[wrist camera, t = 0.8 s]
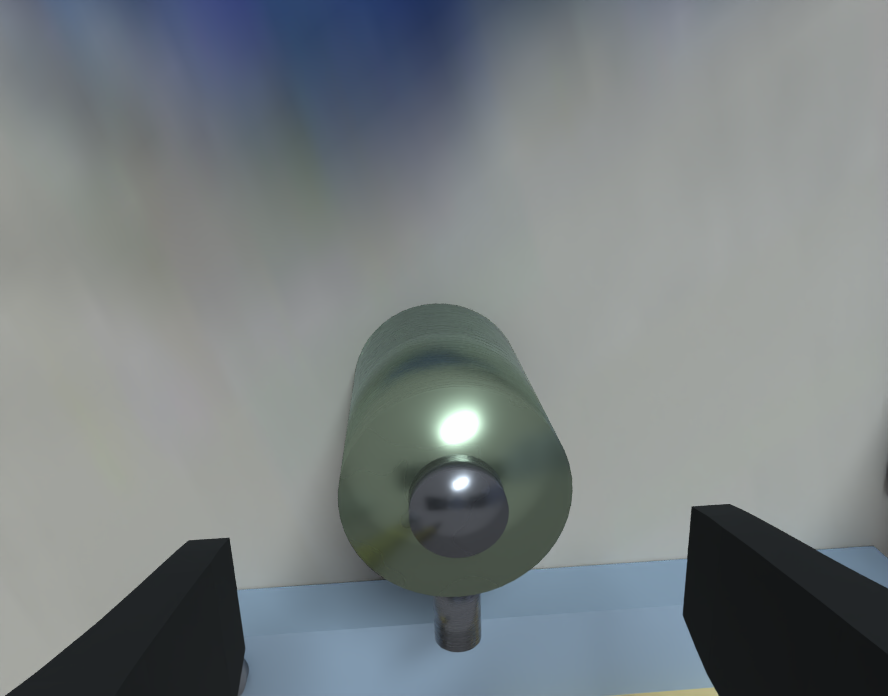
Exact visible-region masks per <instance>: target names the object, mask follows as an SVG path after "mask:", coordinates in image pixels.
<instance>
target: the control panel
mask: <svg viewBox="0 0 888 696" xmlns="http://www.w3.org/2000/svg"><path fill="white" fill-rule="evenodd" d="M817 551H819V552H821V553H822V554H824V555H826V556H828V557H830V558H832V559H833V560H835V561H837V562H839V563H841V564H843V565H844V566H846V567H848V568H850V569H852V570H854V571H856V572H858V573H859V574H861V575H863V576H865V577H867V578H869V579H871V580H873V581H875V582H877V583H879V584H881V585H883V586H884V587H887V588H888V558H887V557H885V556H884V555H883V554H882V553H881V552H880V551H879V550H878V549H877V548H875V547H874V546H866V547H851V548H837V549H823V550H817ZM686 568H687V559H679V560H664V561H650V562H635V563H621V564H607V565H592V566H578V567H563V568H549V569H535V570H529V571H528V572H527V573H525V574H524V575H522V576H521V577H519V578H517V579H516V580H514V581H512V582H510V583H508V584H506V585H504V586H502V587H499V588H496V589H494V590H491V591H488V592H484V593H481V640H480V642H479V644H478V645H477V646H476V647H474V648H473V649H471V650H468V651H465V652H450V651H447V650H444V649H443V648H441V647H440V646H439V645H438V644H437V643H436V640H435V631H434V609H433V596H430V595H425V594H420V593H416V592H413V591H410V590H407V589H404V588H402V587H400V586H397V585H395V584H393V583H391V582H389V581H388V580H376V581H362V582H347V583H333V584H319V585H304V586H290V587H275V588H261V589H247V590H237V594H238V600H239V607H240V614H241V621H242V628H243V635H244V642H245V655H244V661H243V667H242V673H241V679H240V685H239V691H238V696H719V695H718V693H717V692H716V690H715V688H714V686H713V684H712V683H711V681H710V679H709V677H708V675H707V673H706V671H705V669H704V666H703V664H702V662H701V659H700V657H699V655H698V653H697V650H696V648H695V645H694V643H693V640H692V638H691V635H690V633H689V630H688V628H687V625H686V623H685V620H684V618H683V615H682V614H683V603H684V591H685V580H686Z"/></svg>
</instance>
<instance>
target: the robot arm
mask: <svg viewBox="0 0 888 696" xmlns="http://www.w3.org/2000/svg"><path fill="white" fill-rule="evenodd" d="M682 615H683V618H684V620H685V623H686V625H687V628H688V630H689V633H690V635H691V638H692V640H693V643H694V645H695V648H696V650H697V653H698V655H699V657H700V659H701V662H702V664H703V666H704V669H705V671H706V673H707V675H708V677H709V679H710V681H711V683H712V684H713V686H714V688H715V690H716V692H717V693H718V695H719V696H888V588H887V587H884V586H883V585H881V584H879V583H877V582H875V581H873V580H871V579H869V578H867V577H865V576H863V575H861V574H859V573H858V572H856V571H854V570H852V569H850V568H848V567H846V566H844V565H843V564H841V563H839V562H837V561H835V560H833V559H832V558H830V557H828V556H826V555H824V554H822V553H821V552H819V551H817V550H815V549H813V548H812V547H810V546H808V545H806V544H804V543H803V542H801V541H799V540H797V539H795V538H794V537H792V536H790V535H788V534H787V533H785V532H783V531H781V530H779V529H778V528H776V527H774V526H772V525H770V524H768V523H767V522H765V521H763V520H761V519H759V518H757V517H755V516H754V515H752V514H750V513H748V512H746V511H744V510H742V509H740V508H737V507H735V506H733V505H731V504H723V505H708V506H693V507H692V510H691V522H690V533H689V545H688V556H687V568H686V580H685V591H684V603H683V614H682ZM244 655H245V642H244V635H243V628H242V621H241V614H240V607H239V600H238V594H237V587H236V580H235V573H234V566H233V559H232V552H231V545H230V539H229V538H218V539H204V540H189V541H188V542H186V543H185V544H184V545H183V546H182V547H180V548H179V549H178V550H177V551H176V552H175V553H174V554H173V555H171V556H170V557H169V558H168V559H167V560H166V561H165V562H164V563H163V564H162V565H160V566H159V567H158V568H157V569H156V570H155V571H154V572H153V573H152V574H151V575H150V576H149V577H147V578H146V579H145V580H144V581H143V582H142V583H141V584H140V585H139V586H138V587H137V588H135V589H134V590H133V591H132V592H131V593H130V594H129V595H128V596H127V597H125V598H124V599H123V600H122V601H121V602H120V603H119V604H118V605H116V606H115V607H114V608H113V609H112V610H111V611H110V612H109V613H108V614H106V615H105V616H104V617H103V618H102V619H101V620H100V621H98V622H97V623H96V624H95V625H94V626H93V627H91V628H90V629H89V630H88V631H86V632H85V633H84V634H83V635H82V636H80V637H79V638H78V639H77V640H75V641H74V642H73V643H72V644H71V645H69V646H68V647H67V648H66V649H64V650H63V651H62V652H61V653H60V654H58V655H57V656H56V657H55V658H53V659H52V660H51V661H50V662H49V663H47V664H46V665H45V666H44V667H42V668H41V669H40V670H39V671H38V672H36V673H35V674H34V675H32V676H31V677H30V678H28V679H27V680H26V681H24V682H23V683H22V684H20V685H19V686H18V687H16V688H15V689H14V690H12V691H11V692H10V693H8V694H7V695H5V696H238V691H239V685H240V679H241V673H242V667H243V661H244Z"/></svg>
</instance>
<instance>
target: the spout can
mask: <svg viewBox="0 0 888 696" xmlns="http://www.w3.org/2000/svg"><path fill="white" fill-rule="evenodd" d="M571 500H572V476H571V471H570V466H569V462H568V459H567V456H566V454H565V451H564V449H563V447H562V445H561V443H560V441H559V439H558V437H557V435H556V433H555V431H554V429H553V427H552V425H551V423H550V421H549V419H548V417H547V415H546V413H545V411H544V410H543V408H542V406H541V404H540V402H539V400H538V398H537V396H536V394H535V392H534V390H533V388H532V386H531V384H530V382H529V380H528V378H527V376H526V374H525V372H524V370H523V368H522V366H521V364H520V362H519V360H518V358H517V356H516V354H515V353H514V351H513V349H512V347H511V345H510V343H509V341H508V340H507V338H506V337H505V335H504V334H503V333H502V332H501V331H500V329H499V328H498V327H497V326H496V325H495V324H493V323H492V322H491V321H490V320H488V319H487V318H486V317H484V316H482V315H480V314H479V313H477V312H475V311H472V310H470V309H468V308H464V307H461V306H457V305H450V304H427V305H421V306H417V307H413V308H410V309H407V310H405V311H402V312H400V313H398V314H397V315H395V316H393V317H391V318H390V319H389V320H387V321H386V322H384V323H383V324H382V325H381V326H380V327H379V328H378V329H377V330H376V331H375V332H374V333H373V334H372V335H371V337H370V338H369V339H368V341H367V342H366V344H365V346H364V347H363V349H362V352H361V354H360V356H359V359H358V362H357V366H356V371H355V378H354V385H353V392H352V399H351V405H350V412H349V419H348V426H347V433H346V440H345V447H344V453H343V460H342V467H341V474H340V481H339V488H338V507H339V513H340V519H341V522H342V525H343V528H344V531H345V534H346V536H347V538H348V540H349V542H350V544H351V545H352V547H353V548H354V550H355V551H356V553H357V554H358V555H359V557H360V558H361V559H362V560H363V561H364V562H365V563H366V564H367V565H368V566H369V567H370V568H371V569H372V570H374V571H375V572H376V573H377V574H378V575H380V576H382V577H383V578H385V579H386V580H388V581H389V582H391V583H393V584H395V585H397V586H400V587H402V588H404V589H407V590H410V591H413V592H416V593H420V594H425V595H430V596H433V609H434V631H435V640H436V643H437V644H438V645H439V646H440V647H441V648H443V649H444V650H447V651H450V652H465V651H468V650H471V649H473V648H474V647H476V646H477V645H478V644H479V642H480V640H481V593H484V592H488V591H491V590H494V589H496V588H499V587H502V586H504V585H506V584H508V583H510V582H512V581H514V580H516V579H517V578H519V577H521V576H522V575H524V574H525V573H527V572H528V571H529V570H530V569H532V568H533V567H534V566H535V565H537V564H538V563H539V562H540V561H541V560H542V559H543V558H544V557H545V555H546V554H547V553H548V552H549V551H550V549H551V548H552V547H553V545H554V544H555V543H556V541H557V539H558V538H559V536H560V534H561V532H562V530H563V528H564V526H565V523H566V521H567V518H568V515H569V510H570V506H571Z"/></svg>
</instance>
